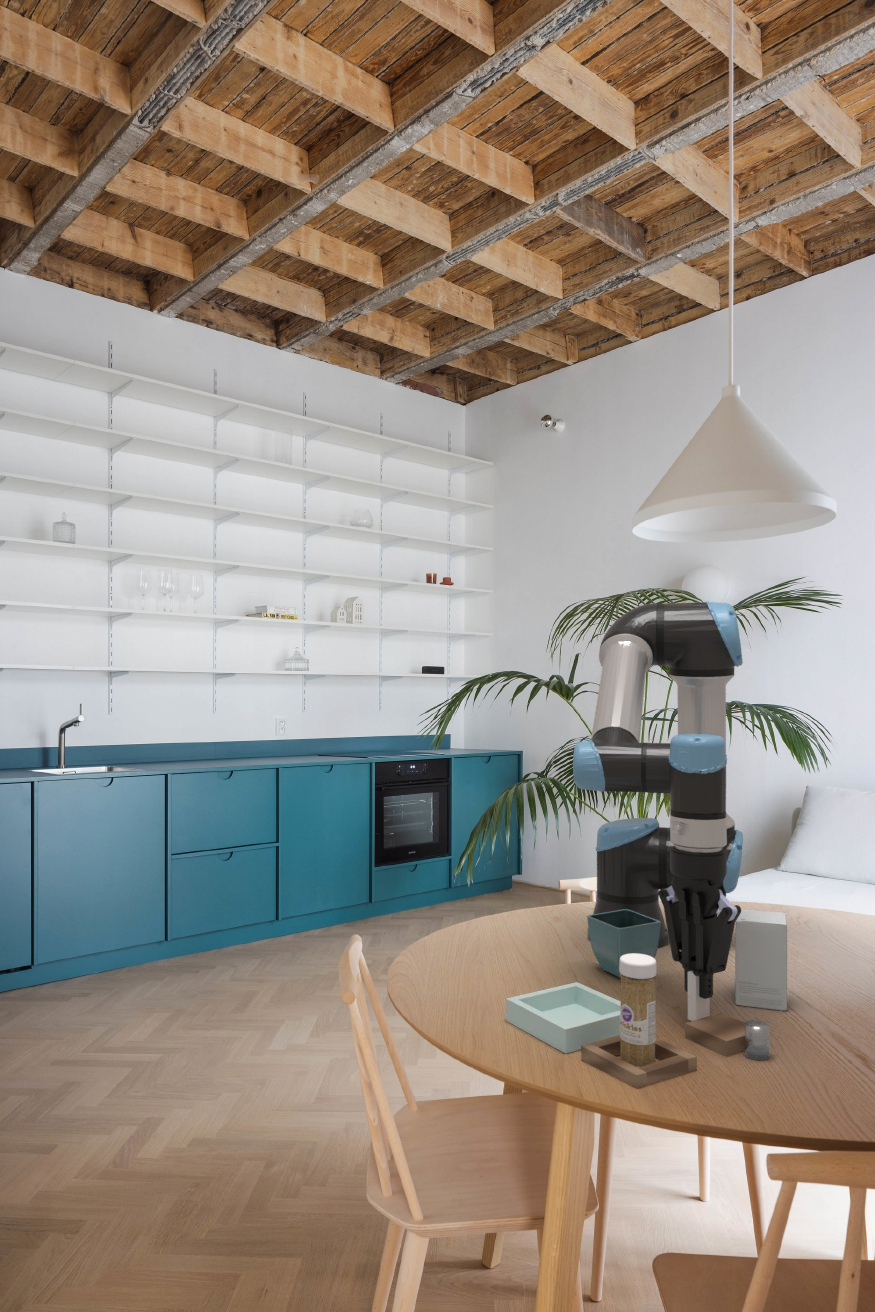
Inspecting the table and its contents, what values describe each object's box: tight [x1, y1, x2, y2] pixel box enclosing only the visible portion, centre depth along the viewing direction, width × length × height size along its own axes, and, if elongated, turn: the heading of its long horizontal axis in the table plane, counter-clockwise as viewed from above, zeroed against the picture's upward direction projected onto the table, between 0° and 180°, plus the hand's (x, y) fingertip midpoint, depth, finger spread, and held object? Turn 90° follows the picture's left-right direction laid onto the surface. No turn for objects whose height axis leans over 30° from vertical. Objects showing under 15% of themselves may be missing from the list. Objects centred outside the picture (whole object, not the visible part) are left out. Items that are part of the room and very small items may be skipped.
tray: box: [505, 982, 621, 1055], centre depth 126 cm, size 13×13×3 cm
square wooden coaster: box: [684, 1012, 746, 1058], centre depth 121 cm, size 7×7×2 cm
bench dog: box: [744, 1019, 771, 1062], centre depth 116 cm, size 3×3×4 cm
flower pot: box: [586, 909, 661, 979], centre depth 148 cm, size 9×9×9 cm
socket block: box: [580, 1035, 698, 1089], centre depth 113 cm, size 10×10×2 cm
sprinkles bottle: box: [619, 953, 658, 1068], centre depth 113 cm, size 5×5×14 cm
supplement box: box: [734, 909, 788, 1012], centre depth 136 cm, size 7×7×13 cm
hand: (698, 1019), depth 124 cm, fingers closed
